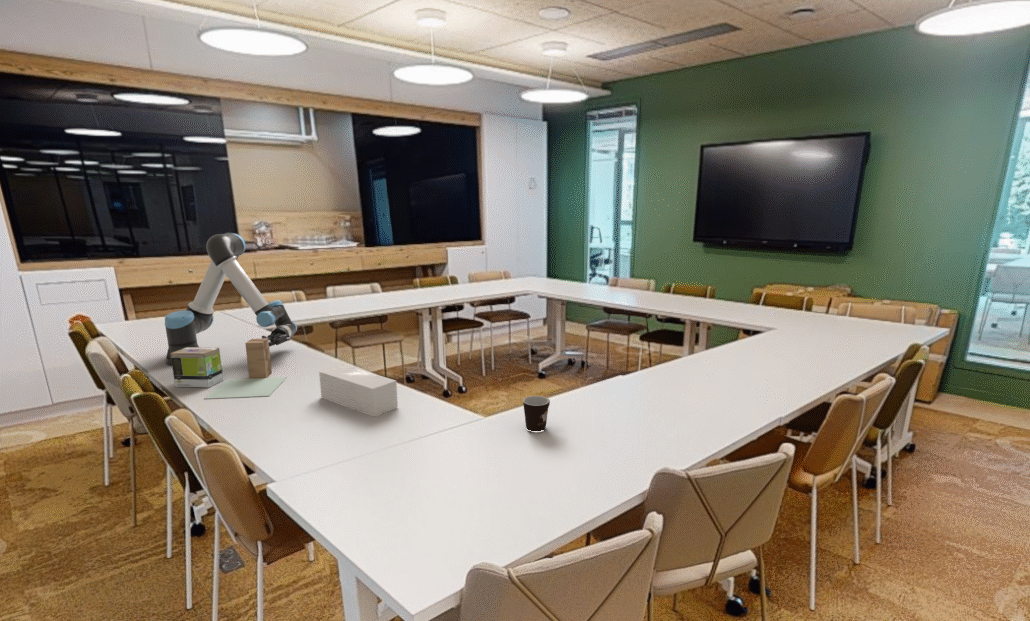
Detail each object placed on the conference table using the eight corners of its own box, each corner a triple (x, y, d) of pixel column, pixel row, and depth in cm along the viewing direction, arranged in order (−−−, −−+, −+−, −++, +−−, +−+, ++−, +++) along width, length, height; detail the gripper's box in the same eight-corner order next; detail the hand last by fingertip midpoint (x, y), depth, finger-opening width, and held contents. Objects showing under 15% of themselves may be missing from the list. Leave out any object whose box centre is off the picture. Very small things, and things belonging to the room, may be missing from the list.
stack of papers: (397, 408, 191) (396, 380, 189) (374, 417, 183) (372, 388, 181) (344, 390, 210) (342, 364, 208) (321, 398, 202) (319, 371, 199)
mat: (227, 380, 221) (227, 379, 221) (286, 377, 224) (286, 377, 224) (204, 399, 200) (204, 398, 200) (269, 396, 203) (269, 395, 203)
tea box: (224, 380, 221) (220, 346, 218) (208, 388, 212) (203, 353, 209) (191, 379, 223) (186, 346, 220) (174, 387, 213) (169, 352, 210)
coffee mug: (530, 436, 167) (531, 407, 165) (518, 426, 175) (518, 398, 173) (561, 429, 173) (561, 401, 171) (548, 420, 180) (548, 392, 178)
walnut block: (255, 373, 230) (251, 338, 227) (272, 373, 231) (268, 338, 227) (249, 379, 223) (245, 343, 220) (266, 378, 224) (262, 342, 220)
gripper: (295, 341, 255) (280, 354, 232) (267, 342, 254) (249, 355, 231) (294, 326, 254) (278, 338, 231) (266, 327, 252) (247, 339, 229)
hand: (264, 346), depth 231 cm, fingers closed
